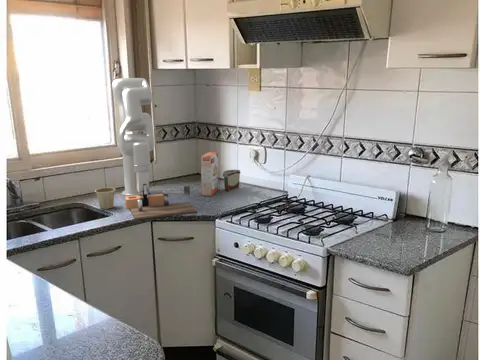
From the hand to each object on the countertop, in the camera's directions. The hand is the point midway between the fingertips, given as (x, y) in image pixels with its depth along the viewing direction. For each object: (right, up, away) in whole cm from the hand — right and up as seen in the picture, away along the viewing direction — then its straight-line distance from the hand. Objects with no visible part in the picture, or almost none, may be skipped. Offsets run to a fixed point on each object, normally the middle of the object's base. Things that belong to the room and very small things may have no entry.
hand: (144, 204), depth 227 cm
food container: (+40, +7, +30) cm, 51 cm away
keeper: (+16, +5, -5) cm, 17 cm away
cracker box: (+30, +5, +23) cm, 38 cm away
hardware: (+6, -1, -7) cm, 9 cm away
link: (+1, 0, 0) cm, 1 cm away
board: (+11, -3, -10) cm, 15 cm away
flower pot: (-18, -1, -2) cm, 18 cm away
